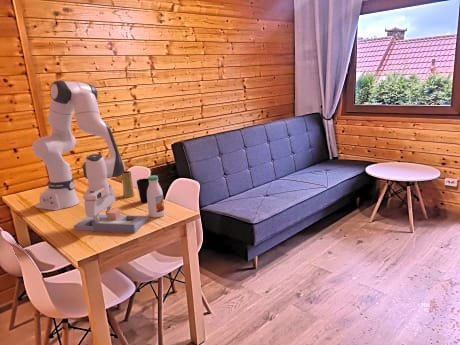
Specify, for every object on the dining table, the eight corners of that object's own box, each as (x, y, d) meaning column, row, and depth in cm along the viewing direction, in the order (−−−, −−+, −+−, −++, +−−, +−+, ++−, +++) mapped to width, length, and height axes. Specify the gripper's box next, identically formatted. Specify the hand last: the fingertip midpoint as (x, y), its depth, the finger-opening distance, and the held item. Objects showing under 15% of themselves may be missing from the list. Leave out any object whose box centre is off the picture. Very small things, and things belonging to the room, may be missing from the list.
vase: (124, 194, 210) (121, 171, 207) (135, 193, 211) (132, 170, 207) (122, 197, 205) (119, 173, 201) (133, 197, 205) (130, 173, 201)
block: (107, 219, 169) (106, 212, 168) (112, 215, 173) (111, 209, 172) (116, 219, 168) (115, 213, 167) (120, 216, 172) (119, 209, 171)
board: (73, 230, 163) (71, 222, 162) (91, 217, 177) (89, 210, 176) (134, 233, 157) (133, 224, 156) (148, 219, 171) (147, 212, 170)
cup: (149, 203, 193) (147, 182, 190) (136, 203, 195) (133, 182, 191) (155, 199, 200) (153, 178, 197) (142, 198, 202) (140, 178, 199)
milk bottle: (151, 219, 172) (147, 179, 167) (147, 214, 179) (142, 175, 173) (166, 216, 175) (163, 176, 170) (162, 211, 182) (158, 173, 177)
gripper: (104, 183, 174) (108, 210, 177) (80, 197, 154) (85, 227, 158) (116, 183, 172) (120, 210, 176) (93, 197, 153) (98, 227, 157)
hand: (103, 218), depth 167 cm, fingers open, 8 cm apart
